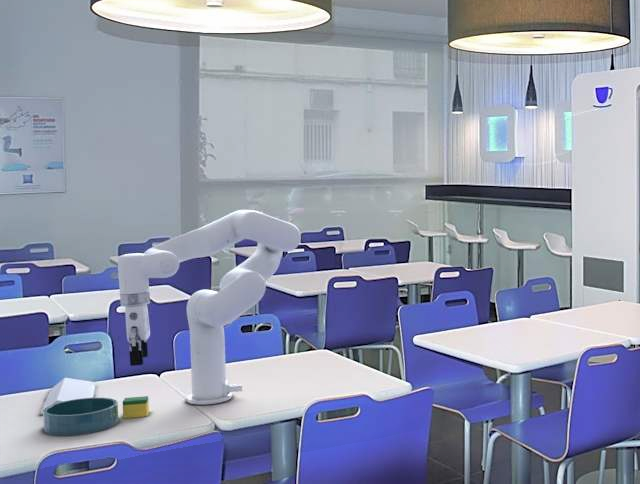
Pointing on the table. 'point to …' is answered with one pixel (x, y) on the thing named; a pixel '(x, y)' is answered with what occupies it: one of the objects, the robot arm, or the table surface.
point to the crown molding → (69, 391)
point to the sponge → (135, 407)
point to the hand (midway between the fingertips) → (139, 361)
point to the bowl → (80, 416)
